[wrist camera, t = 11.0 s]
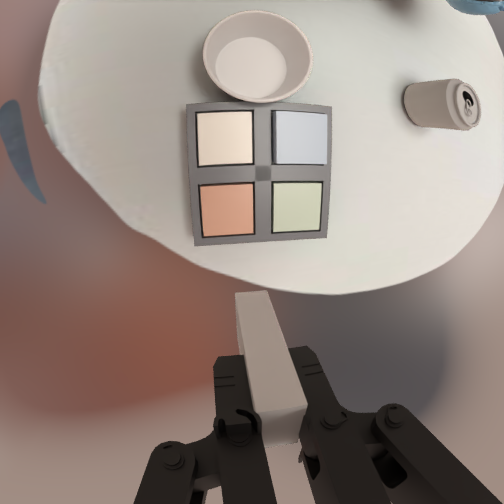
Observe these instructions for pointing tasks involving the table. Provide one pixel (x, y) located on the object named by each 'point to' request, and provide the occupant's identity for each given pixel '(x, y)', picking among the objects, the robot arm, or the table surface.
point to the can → (443, 104)
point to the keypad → (255, 171)
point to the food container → (257, 56)
